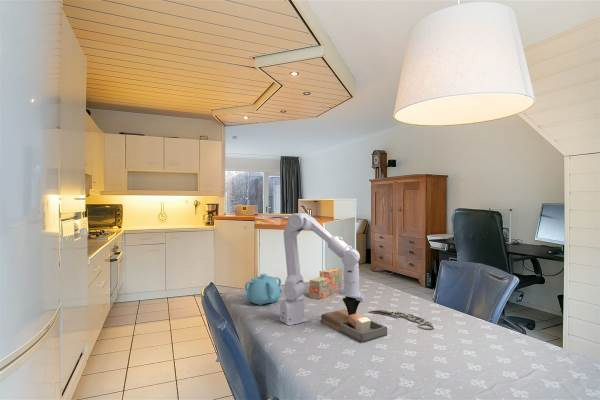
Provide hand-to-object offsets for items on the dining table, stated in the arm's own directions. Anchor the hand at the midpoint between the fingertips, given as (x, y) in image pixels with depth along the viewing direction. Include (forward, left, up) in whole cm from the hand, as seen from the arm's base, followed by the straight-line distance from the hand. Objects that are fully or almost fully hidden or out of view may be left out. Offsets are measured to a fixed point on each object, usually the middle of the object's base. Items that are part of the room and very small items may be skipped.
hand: (352, 317), depth 126 cm
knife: (+24, -3, -5) cm, 25 cm away
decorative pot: (-14, +50, -4) cm, 52 cm away
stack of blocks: (+19, +45, -5) cm, 49 cm away
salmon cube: (0, -2, -2) cm, 3 cm away
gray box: (0, -6, -4) cm, 7 cm away
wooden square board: (0, +6, -4) cm, 7 cm away
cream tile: (0, -5, -1) cm, 5 cm away
